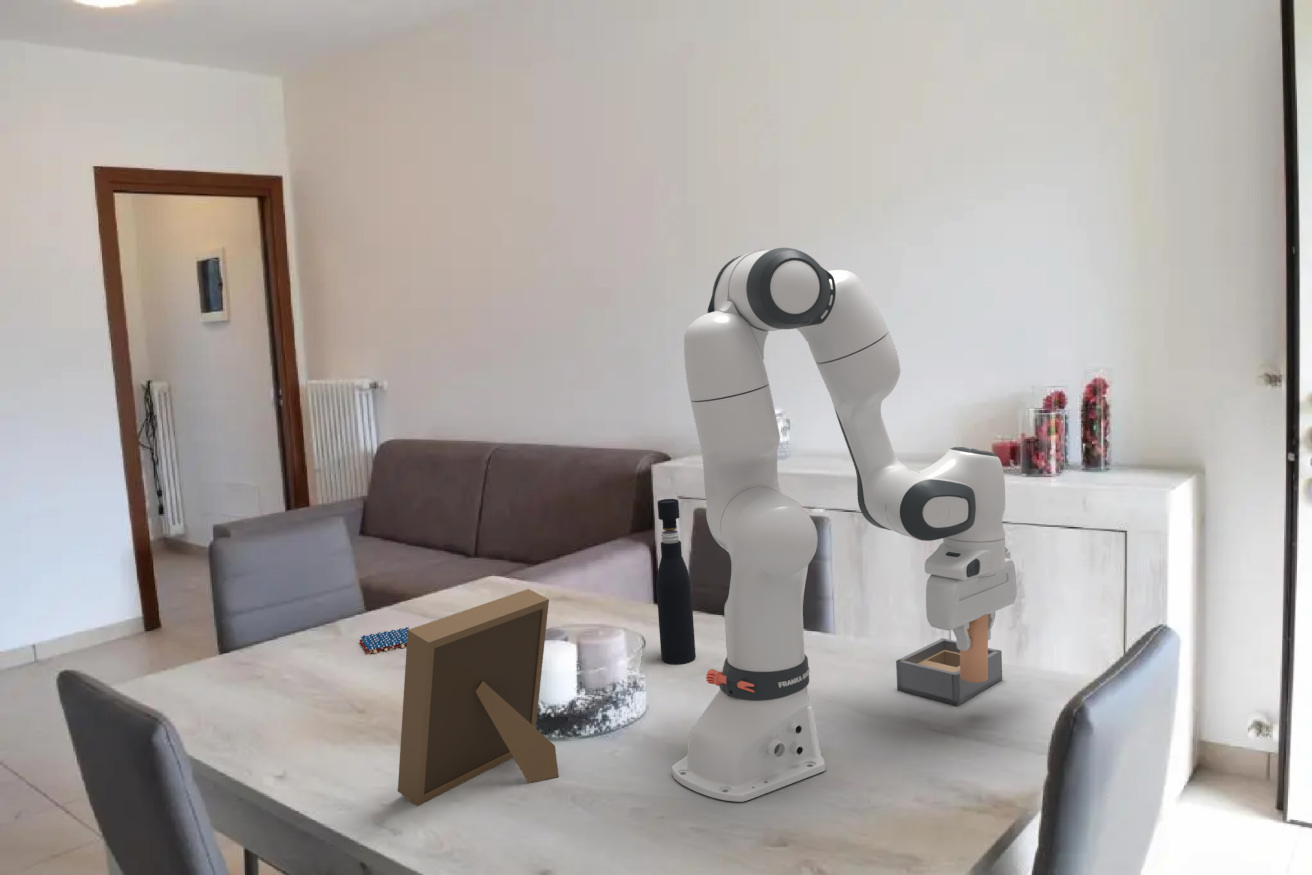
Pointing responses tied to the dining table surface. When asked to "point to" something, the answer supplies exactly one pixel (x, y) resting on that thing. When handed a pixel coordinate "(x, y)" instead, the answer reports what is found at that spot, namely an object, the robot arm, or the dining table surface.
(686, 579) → the black bottle
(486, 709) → the photo frame
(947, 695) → the bore box
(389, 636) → the woven mat
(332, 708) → the dining table surface
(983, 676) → the peg
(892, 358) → the robot arm
